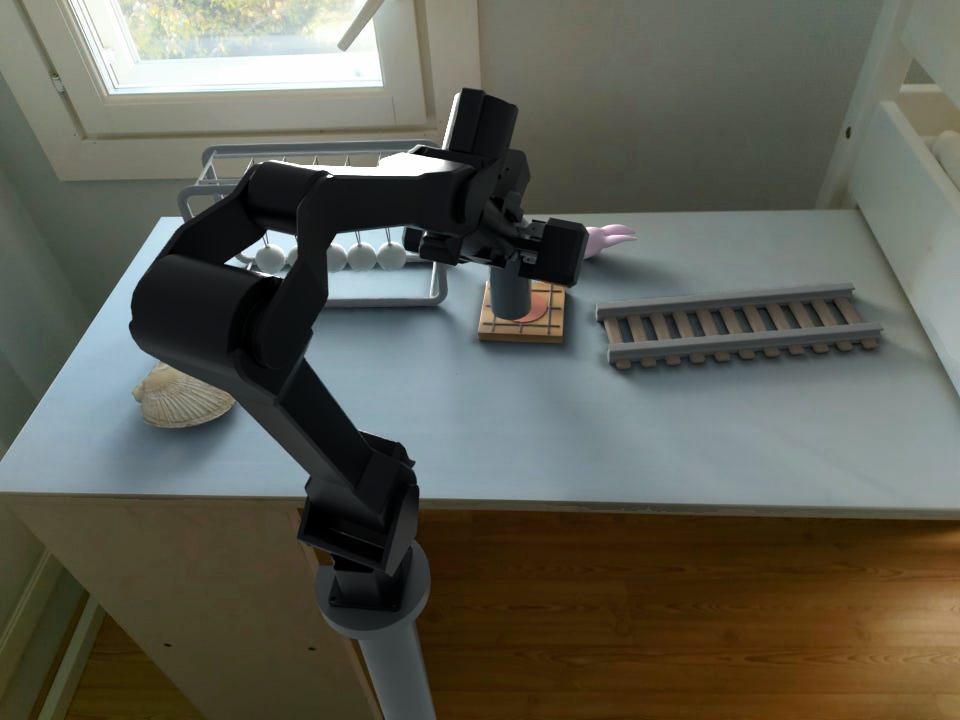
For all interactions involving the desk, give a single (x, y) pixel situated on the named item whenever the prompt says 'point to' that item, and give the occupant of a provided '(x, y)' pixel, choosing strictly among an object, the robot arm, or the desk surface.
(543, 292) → the board
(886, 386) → the desk surface
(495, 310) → the dark grey cylinder
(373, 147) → the newton's cradle
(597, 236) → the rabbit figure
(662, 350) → the model train track
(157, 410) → the seashell
